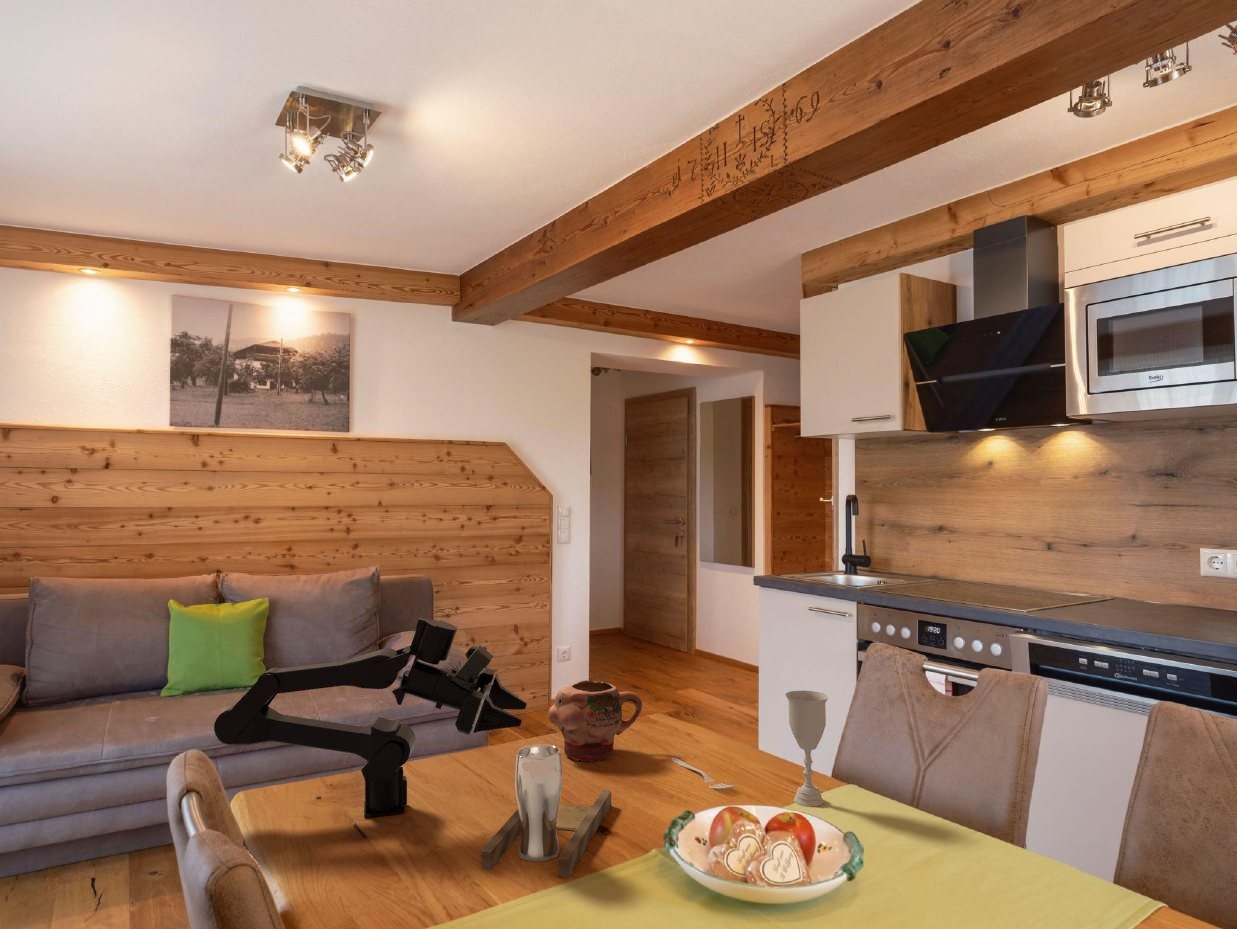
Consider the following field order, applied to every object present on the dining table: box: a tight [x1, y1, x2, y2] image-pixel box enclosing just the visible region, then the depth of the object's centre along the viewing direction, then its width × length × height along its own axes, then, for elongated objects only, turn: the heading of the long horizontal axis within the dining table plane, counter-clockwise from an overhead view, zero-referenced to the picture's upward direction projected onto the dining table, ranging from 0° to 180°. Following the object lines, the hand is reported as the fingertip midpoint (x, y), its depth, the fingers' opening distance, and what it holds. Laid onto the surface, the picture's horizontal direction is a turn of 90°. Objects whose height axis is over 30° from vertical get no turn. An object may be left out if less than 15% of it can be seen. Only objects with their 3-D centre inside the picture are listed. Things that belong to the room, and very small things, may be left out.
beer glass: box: [514, 743, 563, 863], centre depth 119 cm, size 7×7×15 cm
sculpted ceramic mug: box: [547, 680, 643, 762], centre depth 164 cm, size 20×12×14 cm, turn 113°
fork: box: [671, 757, 737, 790], centre depth 152 cm, size 3×24×2 cm, turn 25°
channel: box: [480, 789, 612, 878], centre depth 125 cm, size 26×13×2 cm, turn 167°
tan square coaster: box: [557, 803, 593, 832], centre depth 132 cm, size 9×10×1 cm
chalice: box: [785, 690, 829, 807], centre depth 138 cm, size 7×7×18 cm
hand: (523, 714), depth 138 cm, fingers open, 9 cm apart
